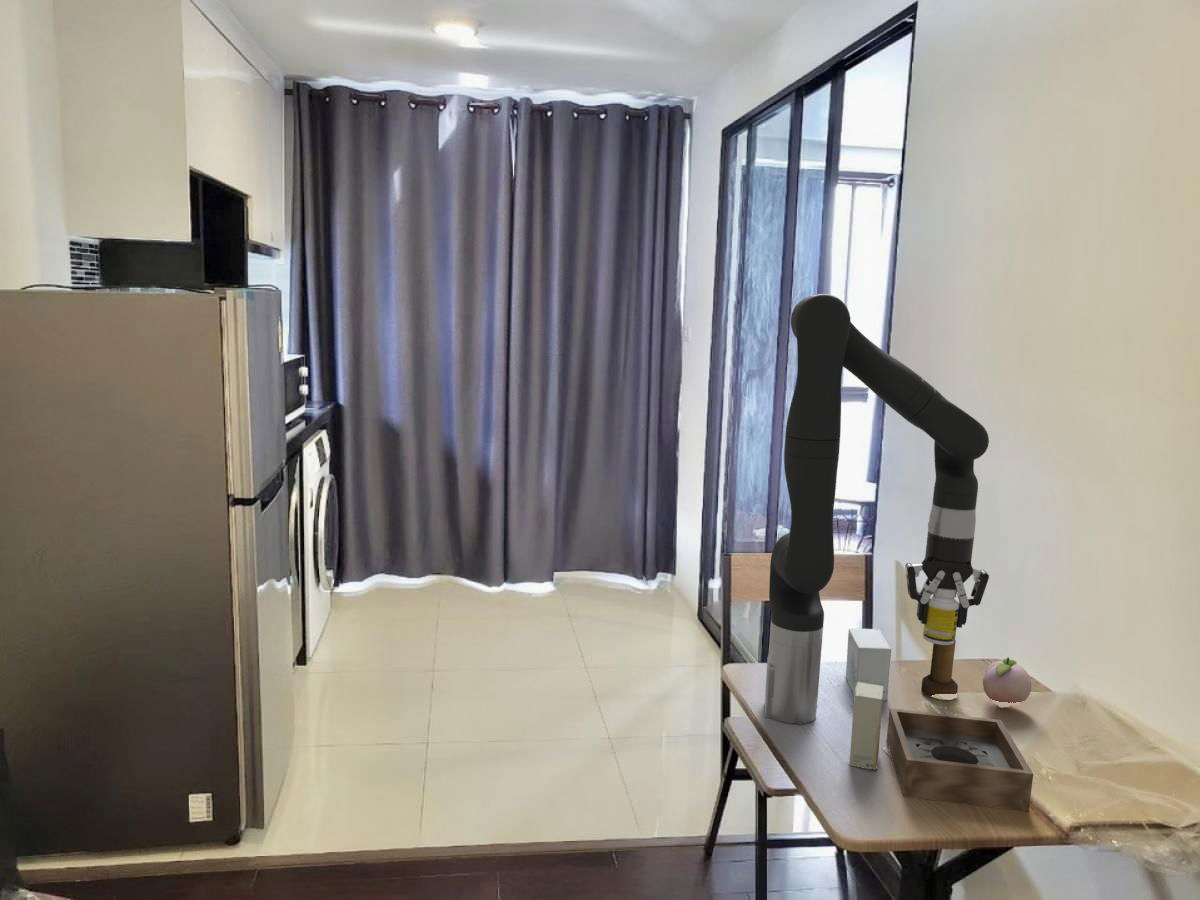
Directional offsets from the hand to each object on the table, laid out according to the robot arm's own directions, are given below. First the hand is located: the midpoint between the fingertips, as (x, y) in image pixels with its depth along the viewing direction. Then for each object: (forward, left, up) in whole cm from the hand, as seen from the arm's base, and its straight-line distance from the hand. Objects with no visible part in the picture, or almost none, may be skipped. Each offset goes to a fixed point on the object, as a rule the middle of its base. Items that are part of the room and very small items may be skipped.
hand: (940, 623), depth 158 cm
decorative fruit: (+15, +10, -19) cm, 26 cm away
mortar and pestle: (+4, +14, -19) cm, 24 cm away
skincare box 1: (-10, +13, -19) cm, 25 cm away
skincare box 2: (-14, -17, -19) cm, 29 cm away
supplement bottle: (0, 0, -3) cm, 3 cm away
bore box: (0, -18, -19) cm, 26 cm away
